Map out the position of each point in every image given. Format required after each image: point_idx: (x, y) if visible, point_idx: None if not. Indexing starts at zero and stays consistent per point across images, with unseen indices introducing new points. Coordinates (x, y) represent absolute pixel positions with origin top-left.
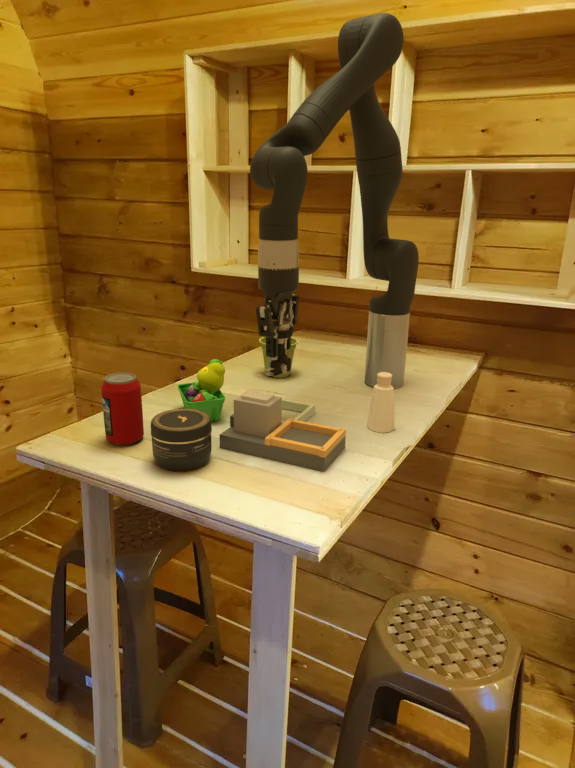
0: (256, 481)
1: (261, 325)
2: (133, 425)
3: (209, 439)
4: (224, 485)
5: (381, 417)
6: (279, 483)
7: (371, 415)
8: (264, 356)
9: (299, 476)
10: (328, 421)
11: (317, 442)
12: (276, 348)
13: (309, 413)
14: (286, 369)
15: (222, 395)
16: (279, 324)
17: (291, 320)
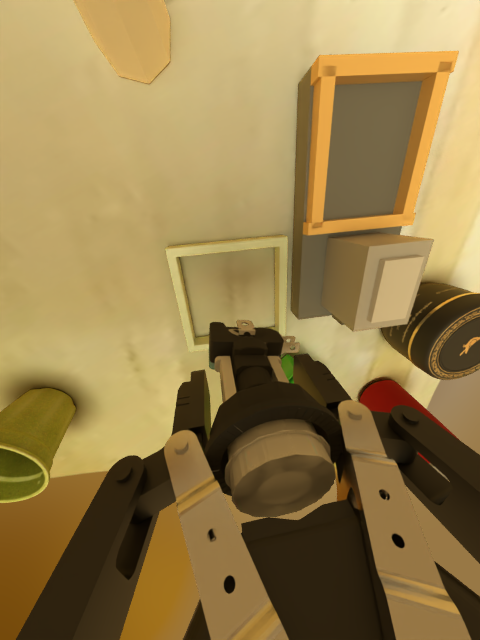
0: (459, 188)
1: (443, 489)
2: (407, 395)
3: (449, 293)
4: (473, 225)
5: None
6: (463, 146)
7: (157, 32)
8: (57, 448)
9: (437, 123)
10: (187, 197)
11: (371, 123)
12: (318, 371)
13: (197, 244)
14: (237, 324)
15: (288, 379)
16: (389, 461)
17: (182, 488)
